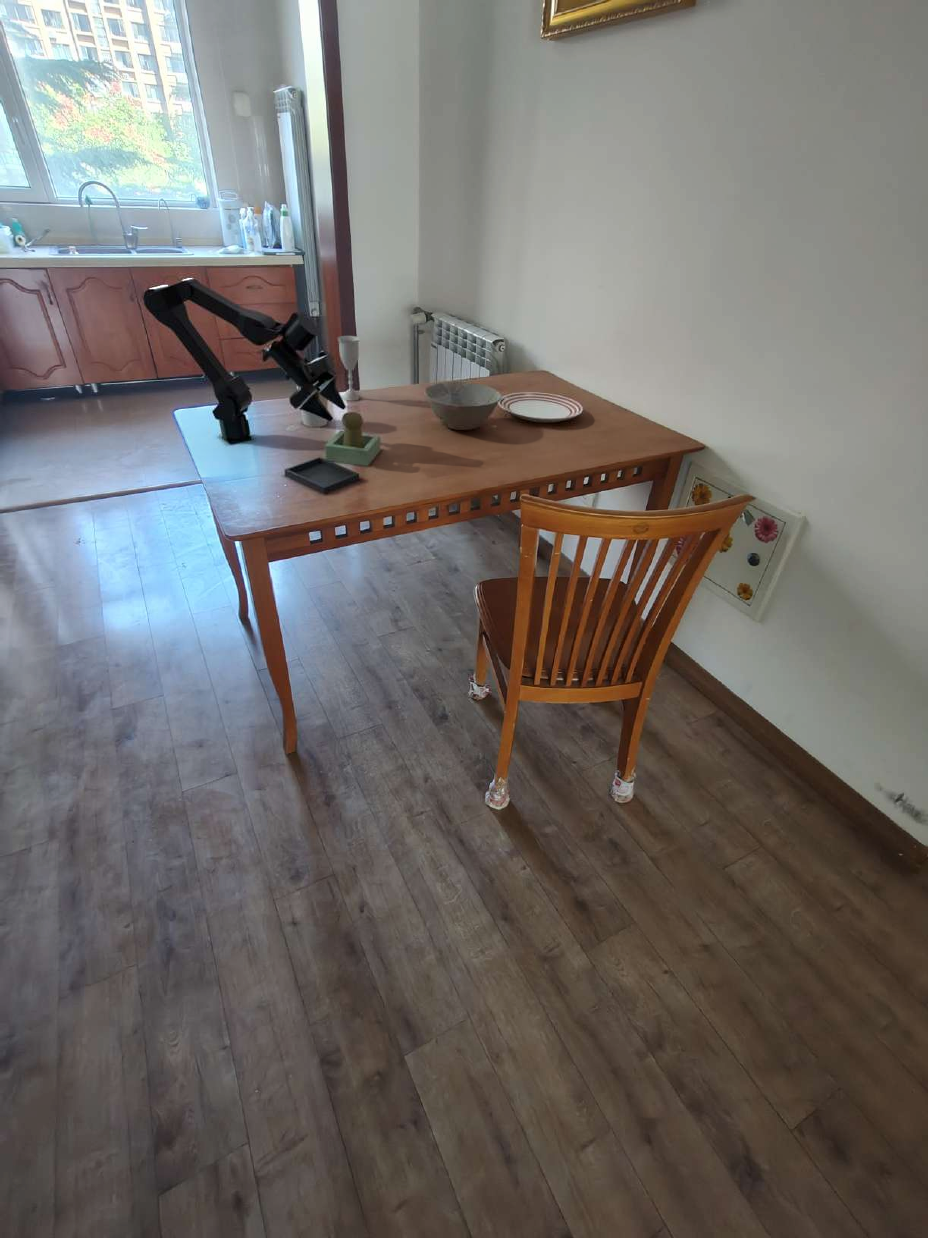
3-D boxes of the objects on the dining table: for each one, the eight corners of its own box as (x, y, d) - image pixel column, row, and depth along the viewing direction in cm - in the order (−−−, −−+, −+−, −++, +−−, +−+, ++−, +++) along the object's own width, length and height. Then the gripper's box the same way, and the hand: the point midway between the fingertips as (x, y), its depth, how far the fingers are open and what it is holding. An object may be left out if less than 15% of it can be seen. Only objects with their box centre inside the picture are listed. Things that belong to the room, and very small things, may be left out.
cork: (365, 450, 160) (363, 409, 153) (365, 459, 155) (364, 417, 148) (342, 450, 158) (339, 409, 152) (342, 459, 154) (339, 417, 147)
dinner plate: (480, 408, 193) (480, 398, 191) (536, 395, 208) (537, 385, 206) (542, 435, 178) (544, 424, 176) (598, 418, 193) (600, 408, 191)
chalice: (344, 393, 196) (340, 334, 185) (364, 395, 195) (362, 336, 184) (338, 400, 190) (334, 340, 179) (358, 402, 190) (356, 342, 179)
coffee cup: (313, 430, 168) (308, 375, 159) (292, 422, 172) (286, 368, 163) (337, 422, 174) (333, 369, 165) (316, 414, 178) (311, 362, 169)
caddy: (326, 460, 153) (324, 445, 150) (341, 444, 162) (340, 430, 159) (367, 466, 152) (367, 451, 149) (380, 450, 160) (380, 435, 158)
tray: (284, 475, 144) (284, 469, 143) (320, 462, 151) (319, 456, 150) (324, 494, 138) (324, 487, 137) (359, 480, 145) (359, 473, 144)
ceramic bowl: (513, 429, 180) (517, 396, 174) (459, 446, 166) (461, 410, 160) (462, 408, 192) (465, 376, 185) (408, 422, 178) (408, 388, 172)
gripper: (296, 350, 134) (346, 405, 139) (326, 332, 148) (370, 383, 154) (268, 382, 139) (317, 433, 145) (300, 362, 154) (343, 409, 160)
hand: (338, 413), depth 151 cm, fingers open, 9 cm apart
